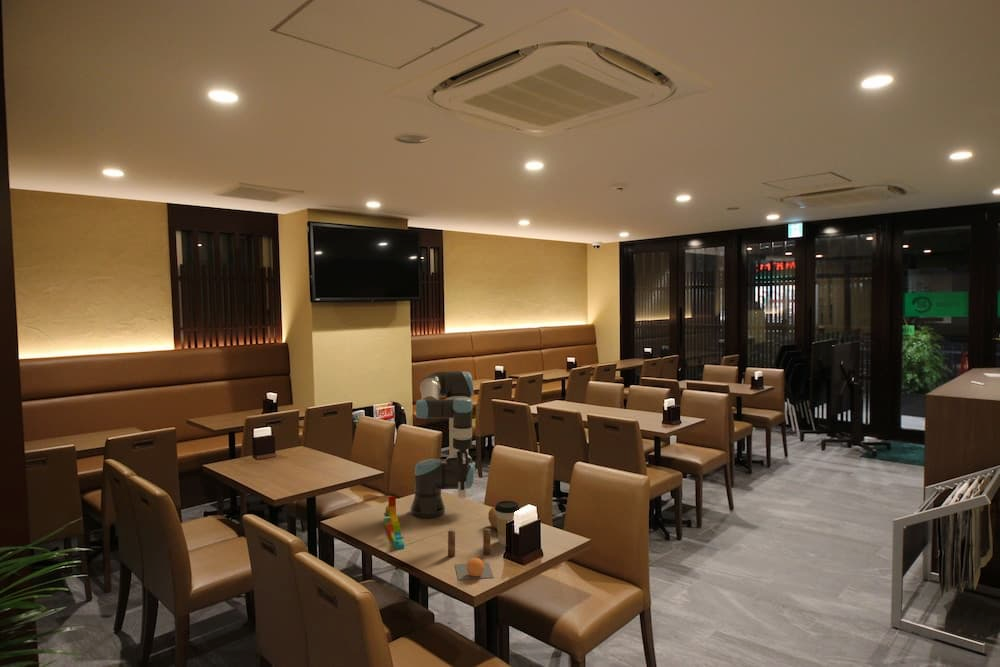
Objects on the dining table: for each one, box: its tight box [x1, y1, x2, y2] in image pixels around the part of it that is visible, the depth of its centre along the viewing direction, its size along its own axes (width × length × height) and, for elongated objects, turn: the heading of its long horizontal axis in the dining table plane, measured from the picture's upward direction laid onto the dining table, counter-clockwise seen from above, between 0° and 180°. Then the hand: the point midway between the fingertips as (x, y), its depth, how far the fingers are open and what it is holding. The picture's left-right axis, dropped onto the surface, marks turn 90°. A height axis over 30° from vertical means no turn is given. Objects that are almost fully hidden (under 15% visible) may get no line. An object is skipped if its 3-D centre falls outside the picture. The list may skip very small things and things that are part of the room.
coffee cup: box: [494, 500, 521, 546], centre depth 229 cm, size 10×10×15 cm
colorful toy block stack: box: [383, 496, 405, 550], centre depth 235 cm, size 30×3×15 cm, turn 20°
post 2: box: [482, 528, 491, 556], centre depth 217 cm, size 3×3×9 cm
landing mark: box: [454, 562, 495, 581], centre depth 202 cm, size 12×12×1 cm
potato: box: [487, 506, 497, 530], centre depth 242 cm, size 10×14×8 cm
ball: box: [466, 557, 484, 577], centre depth 199 cm, size 6×6×6 cm
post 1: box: [447, 529, 456, 558], centre depth 215 cm, size 3×3×9 cm
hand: (461, 497), depth 230 cm, fingers closed
